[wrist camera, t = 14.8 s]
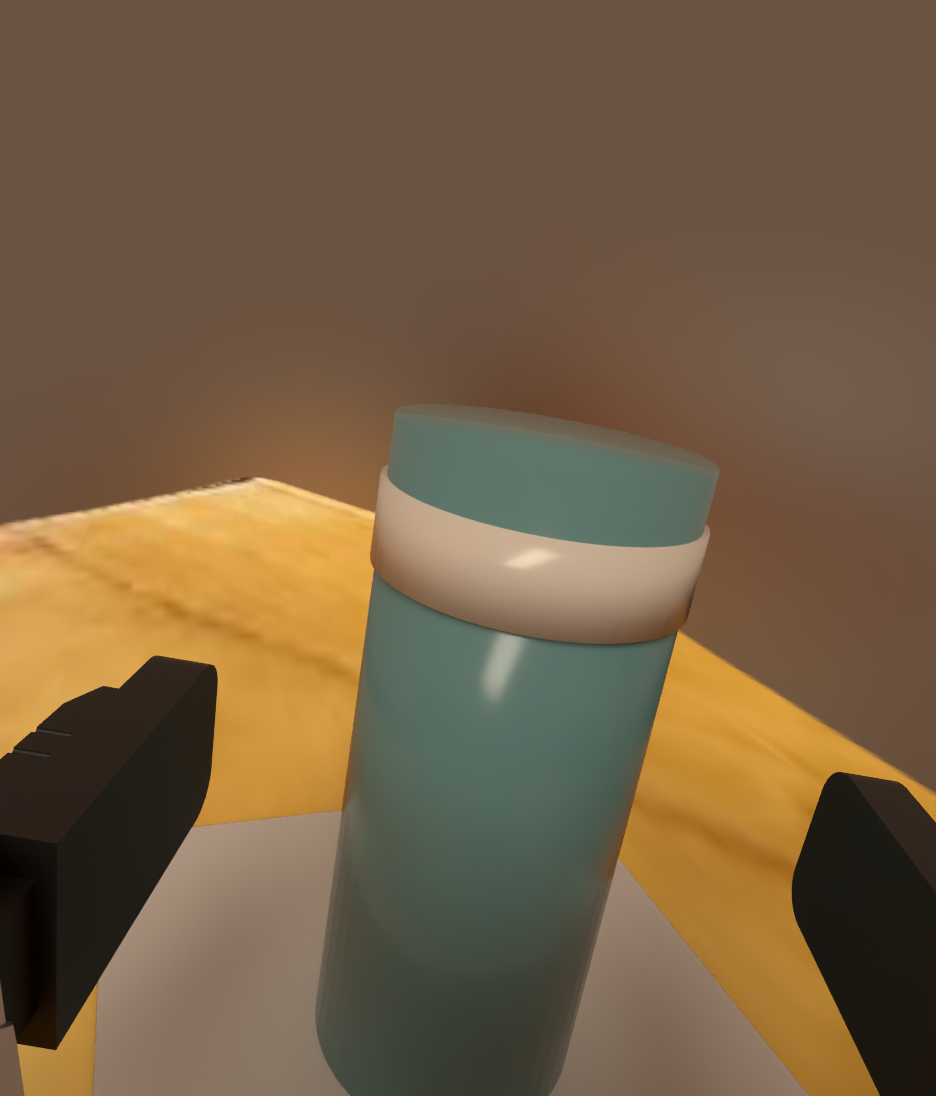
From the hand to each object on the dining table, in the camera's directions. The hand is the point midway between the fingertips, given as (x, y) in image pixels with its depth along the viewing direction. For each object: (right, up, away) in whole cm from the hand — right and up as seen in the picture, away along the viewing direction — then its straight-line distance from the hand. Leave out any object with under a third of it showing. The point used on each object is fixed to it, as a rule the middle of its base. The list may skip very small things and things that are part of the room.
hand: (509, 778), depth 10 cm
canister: (-1, -7, +6) cm, 9 cm away
